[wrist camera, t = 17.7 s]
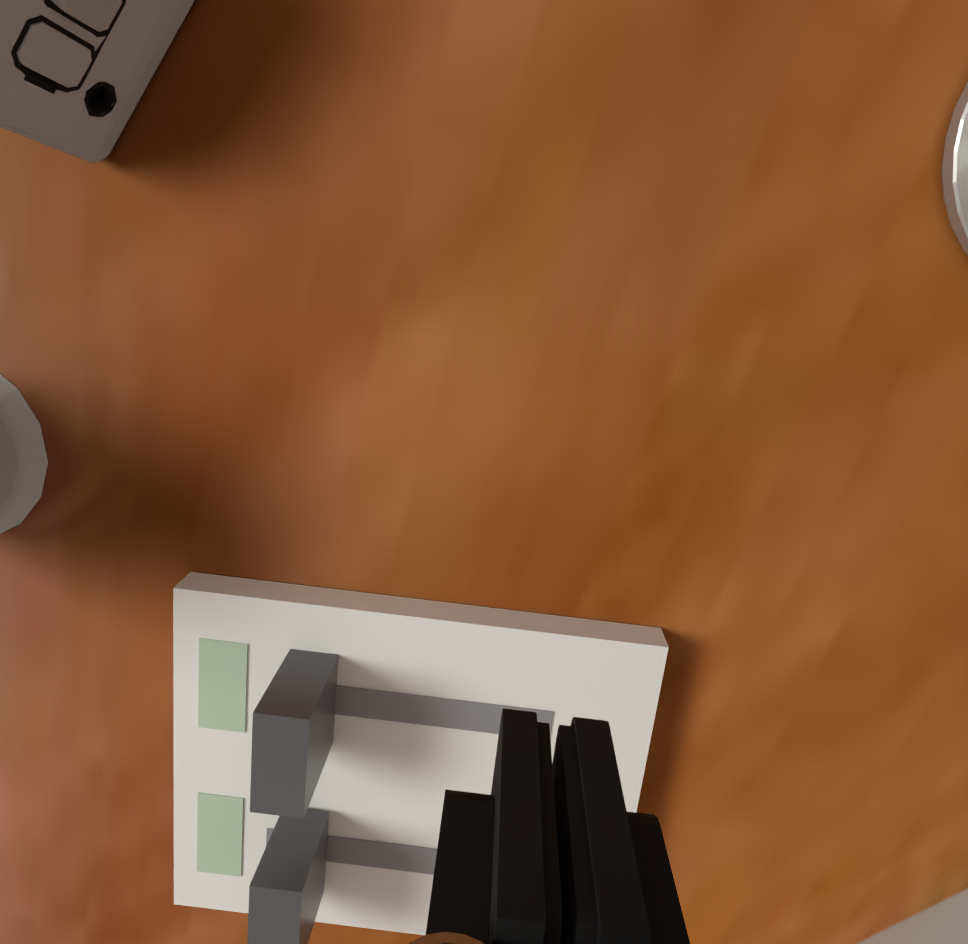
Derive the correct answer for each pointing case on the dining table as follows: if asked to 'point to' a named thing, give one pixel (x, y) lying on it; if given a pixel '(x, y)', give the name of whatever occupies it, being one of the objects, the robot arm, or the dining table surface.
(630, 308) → the dining table surface
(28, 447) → the french press
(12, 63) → the electrical switch
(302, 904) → the handle
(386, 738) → the white slider control panel
